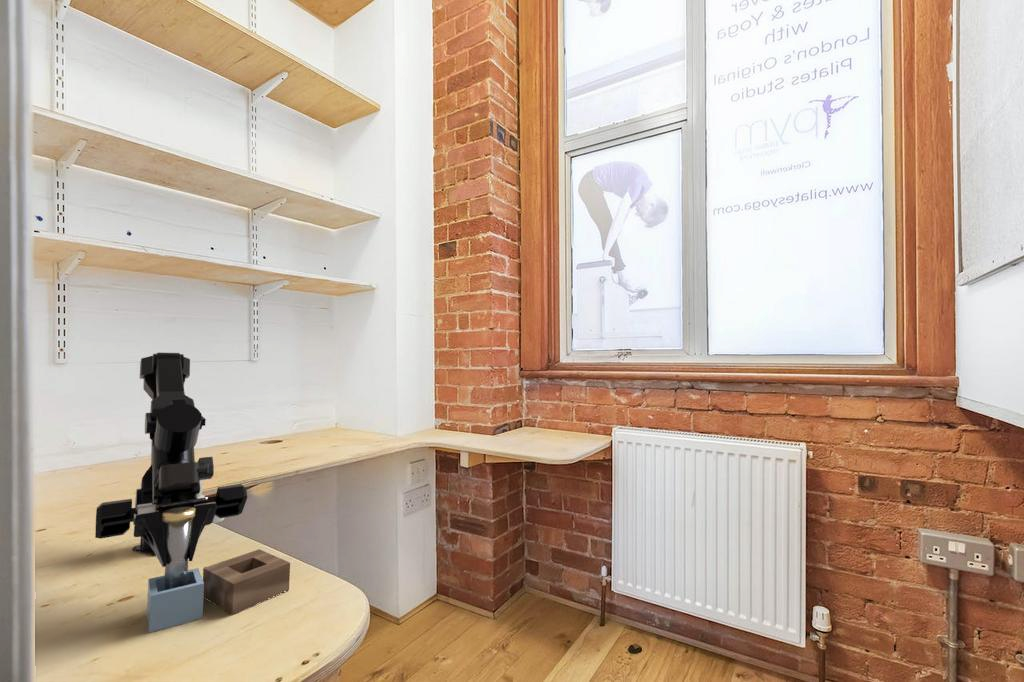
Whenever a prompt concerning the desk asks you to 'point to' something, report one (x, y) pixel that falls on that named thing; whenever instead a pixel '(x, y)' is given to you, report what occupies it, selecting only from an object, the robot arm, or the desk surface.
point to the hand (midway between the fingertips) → (177, 562)
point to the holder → (174, 602)
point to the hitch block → (245, 580)
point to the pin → (177, 545)
